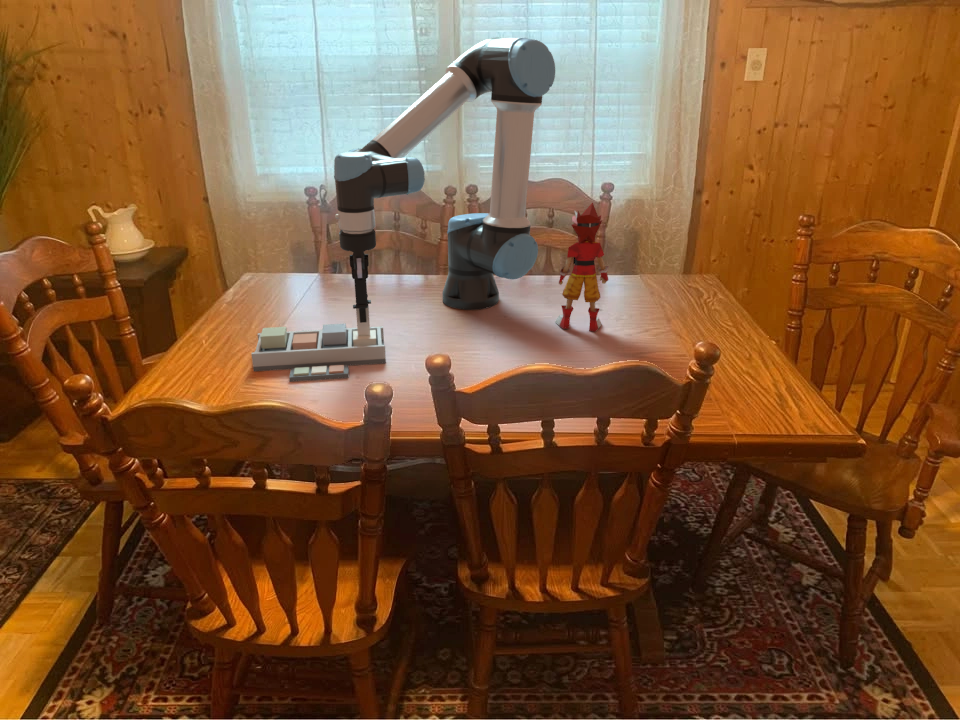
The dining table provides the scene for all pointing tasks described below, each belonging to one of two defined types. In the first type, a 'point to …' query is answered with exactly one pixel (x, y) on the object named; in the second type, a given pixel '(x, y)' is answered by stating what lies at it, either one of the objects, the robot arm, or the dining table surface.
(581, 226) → the toy
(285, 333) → the key sage
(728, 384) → the dining table surface
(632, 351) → the dining table surface
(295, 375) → the plaque
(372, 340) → the key cream
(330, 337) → the key slate
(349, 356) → the grey base
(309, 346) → the key terracotta
